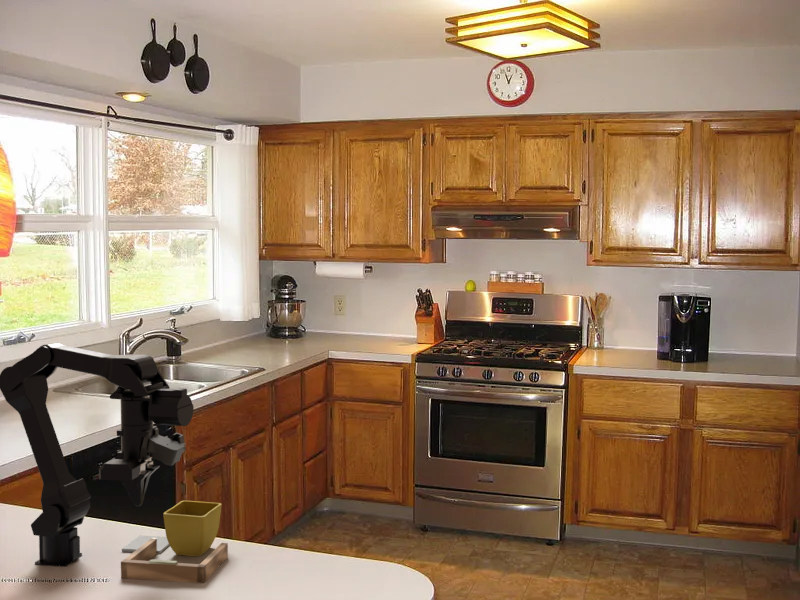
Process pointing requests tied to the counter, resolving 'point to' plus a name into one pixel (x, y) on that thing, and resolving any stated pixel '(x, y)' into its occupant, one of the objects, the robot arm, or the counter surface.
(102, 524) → the counter surface
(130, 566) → the wooden tray frame
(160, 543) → the tile
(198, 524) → the flower pot
